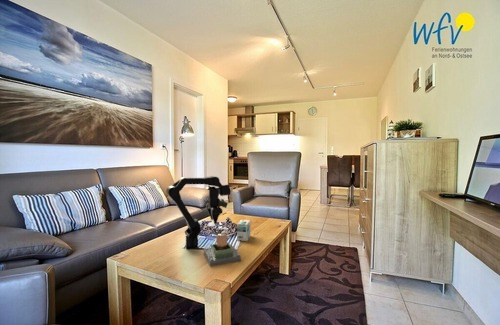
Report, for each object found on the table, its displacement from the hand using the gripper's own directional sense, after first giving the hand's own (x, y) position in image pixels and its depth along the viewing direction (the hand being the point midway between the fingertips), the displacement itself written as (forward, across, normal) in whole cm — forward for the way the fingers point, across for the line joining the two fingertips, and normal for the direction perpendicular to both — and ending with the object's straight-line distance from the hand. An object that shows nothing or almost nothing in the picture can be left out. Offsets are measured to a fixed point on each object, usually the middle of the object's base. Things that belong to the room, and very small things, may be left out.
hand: (213, 221), depth 146 cm
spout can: (+10, -22, +1) cm, 24 cm away
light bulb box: (+13, 0, -20) cm, 24 cm away
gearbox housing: (+13, -22, +1) cm, 26 cm away
